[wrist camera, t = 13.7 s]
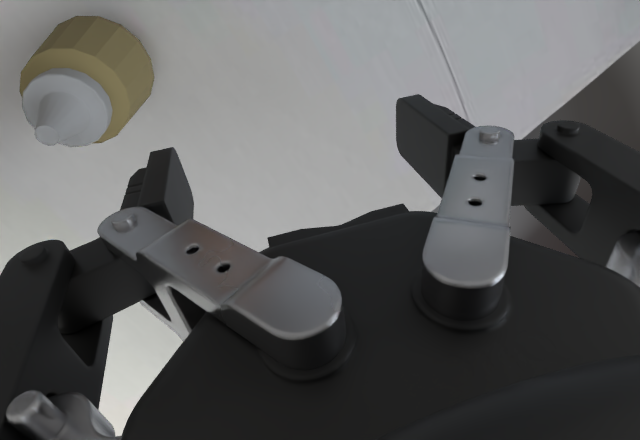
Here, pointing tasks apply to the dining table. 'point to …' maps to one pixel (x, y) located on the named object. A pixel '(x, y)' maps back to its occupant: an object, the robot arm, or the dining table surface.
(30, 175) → the dining table surface
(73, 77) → the squeeze bottle
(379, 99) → the dining table surface
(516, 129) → the dining table surface
